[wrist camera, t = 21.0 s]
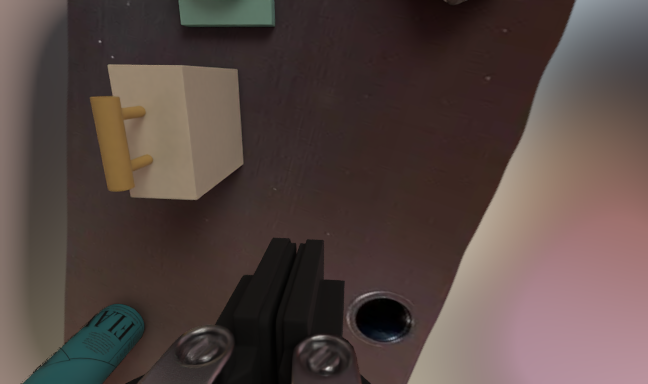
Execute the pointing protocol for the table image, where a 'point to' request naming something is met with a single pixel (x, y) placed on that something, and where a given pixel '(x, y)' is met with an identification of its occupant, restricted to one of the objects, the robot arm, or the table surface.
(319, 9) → the table surface
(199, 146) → the clock
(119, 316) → the beverage bottle
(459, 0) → the black sponge
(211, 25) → the switch box
